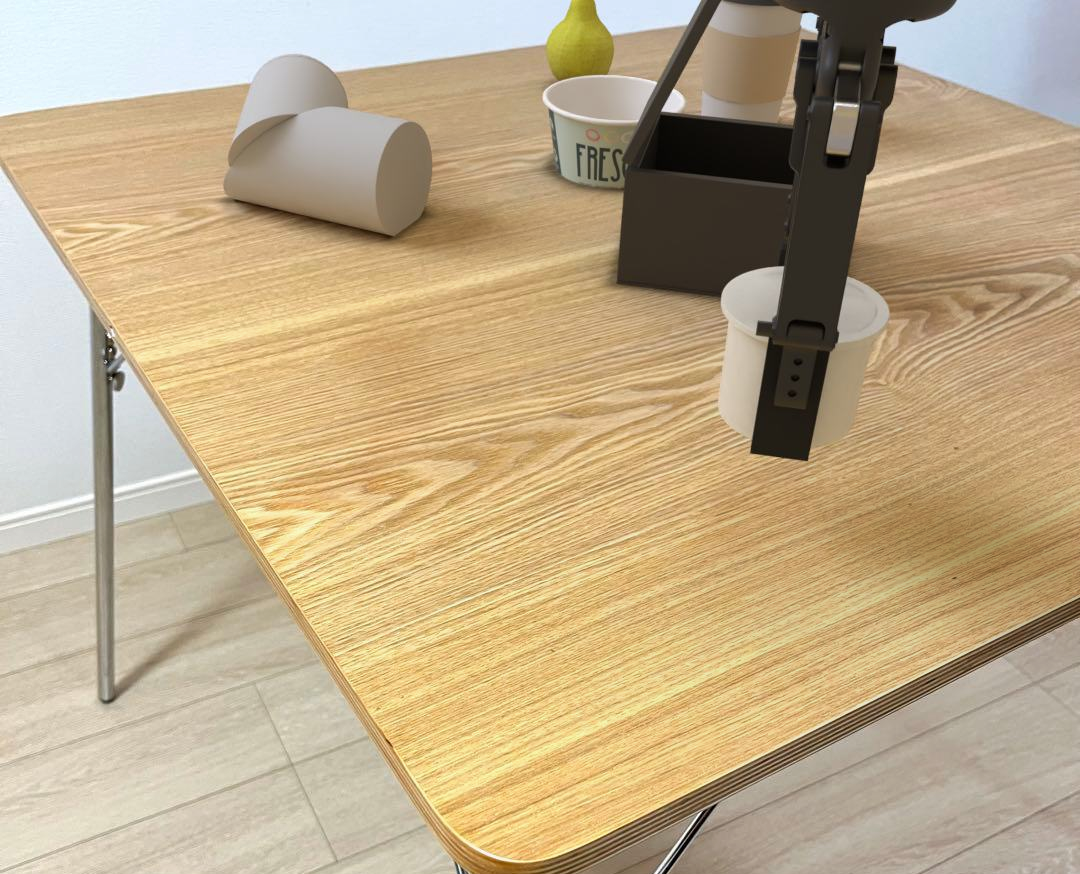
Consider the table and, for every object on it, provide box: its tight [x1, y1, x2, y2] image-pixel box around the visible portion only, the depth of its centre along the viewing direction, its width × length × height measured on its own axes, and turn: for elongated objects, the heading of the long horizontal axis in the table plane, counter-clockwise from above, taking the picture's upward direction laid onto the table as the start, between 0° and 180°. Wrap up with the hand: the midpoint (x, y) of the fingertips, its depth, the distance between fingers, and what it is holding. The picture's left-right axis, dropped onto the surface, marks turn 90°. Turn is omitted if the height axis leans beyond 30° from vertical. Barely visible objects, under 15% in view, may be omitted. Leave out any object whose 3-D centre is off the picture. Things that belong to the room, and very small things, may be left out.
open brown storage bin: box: [615, 111, 795, 298], centre depth 82 cm, size 16×13×9 cm
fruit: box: [545, 0, 615, 82], centre depth 113 cm, size 7×7×12 cm
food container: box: [542, 74, 687, 190], centre depth 97 cm, size 12×12×6 cm
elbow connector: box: [222, 53, 433, 237], centre depth 91 cm, size 18×10×20 cm
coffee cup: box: [700, 0, 804, 123], centre depth 103 cm, size 9×9×15 cm
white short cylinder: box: [717, 266, 891, 449], centre depth 55 cm, size 8×8×6 cm
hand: (783, 405), depth 57 cm, fingers closed on white short cylinder, 8 cm apart
